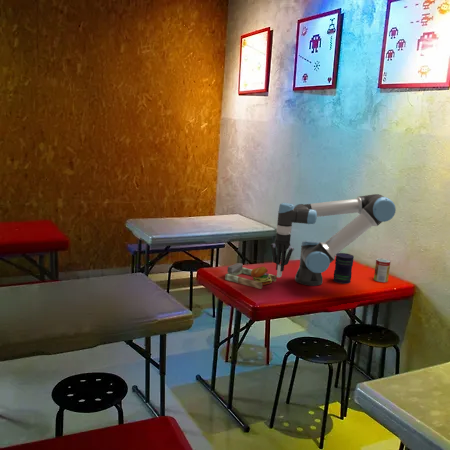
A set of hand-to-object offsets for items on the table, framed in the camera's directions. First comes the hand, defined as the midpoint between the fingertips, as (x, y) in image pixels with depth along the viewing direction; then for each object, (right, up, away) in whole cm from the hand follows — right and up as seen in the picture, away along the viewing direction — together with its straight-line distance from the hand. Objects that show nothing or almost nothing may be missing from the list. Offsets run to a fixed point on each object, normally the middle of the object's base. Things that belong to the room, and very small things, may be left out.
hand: (279, 276), depth 261 cm
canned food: (+62, -5, +26) cm, 67 cm away
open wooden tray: (-14, -3, +10) cm, 18 cm away
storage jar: (+38, -5, +20) cm, 43 cm away
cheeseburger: (-9, -4, +7) cm, 12 cm away
